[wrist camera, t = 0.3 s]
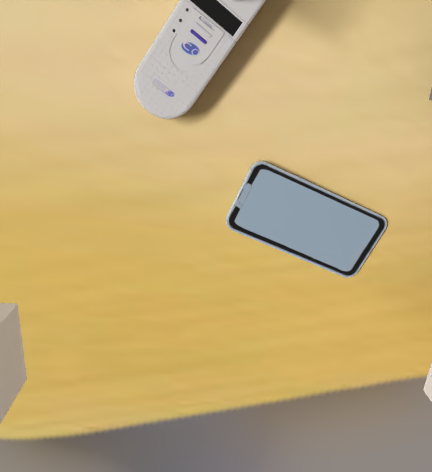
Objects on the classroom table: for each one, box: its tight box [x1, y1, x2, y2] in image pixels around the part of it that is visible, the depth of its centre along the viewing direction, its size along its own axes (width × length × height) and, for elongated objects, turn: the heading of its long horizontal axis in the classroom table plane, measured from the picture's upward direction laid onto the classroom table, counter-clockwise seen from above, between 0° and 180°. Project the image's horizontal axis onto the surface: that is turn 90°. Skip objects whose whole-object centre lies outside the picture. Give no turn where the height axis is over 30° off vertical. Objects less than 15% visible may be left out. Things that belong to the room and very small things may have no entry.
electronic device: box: [134, 0, 266, 119], centre depth 30 cm, size 5×10×15 cm
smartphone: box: [226, 161, 387, 277], centre depth 40 cm, size 7×1×15 cm
